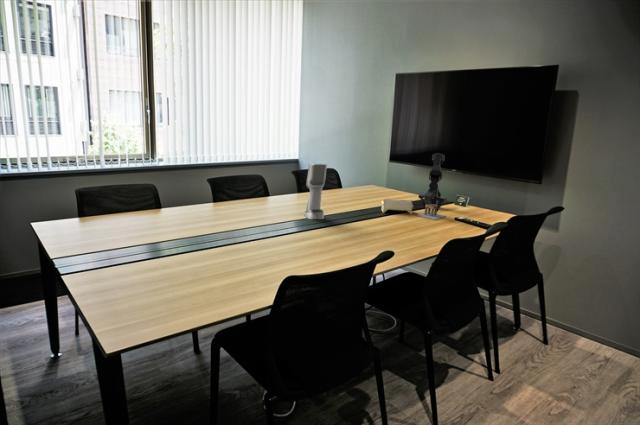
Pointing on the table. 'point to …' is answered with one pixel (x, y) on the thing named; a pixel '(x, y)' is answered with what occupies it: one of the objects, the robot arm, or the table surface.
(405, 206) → the toy sofa
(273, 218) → the table surface
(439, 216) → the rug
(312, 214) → the thermal camera
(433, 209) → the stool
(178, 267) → the table surface
